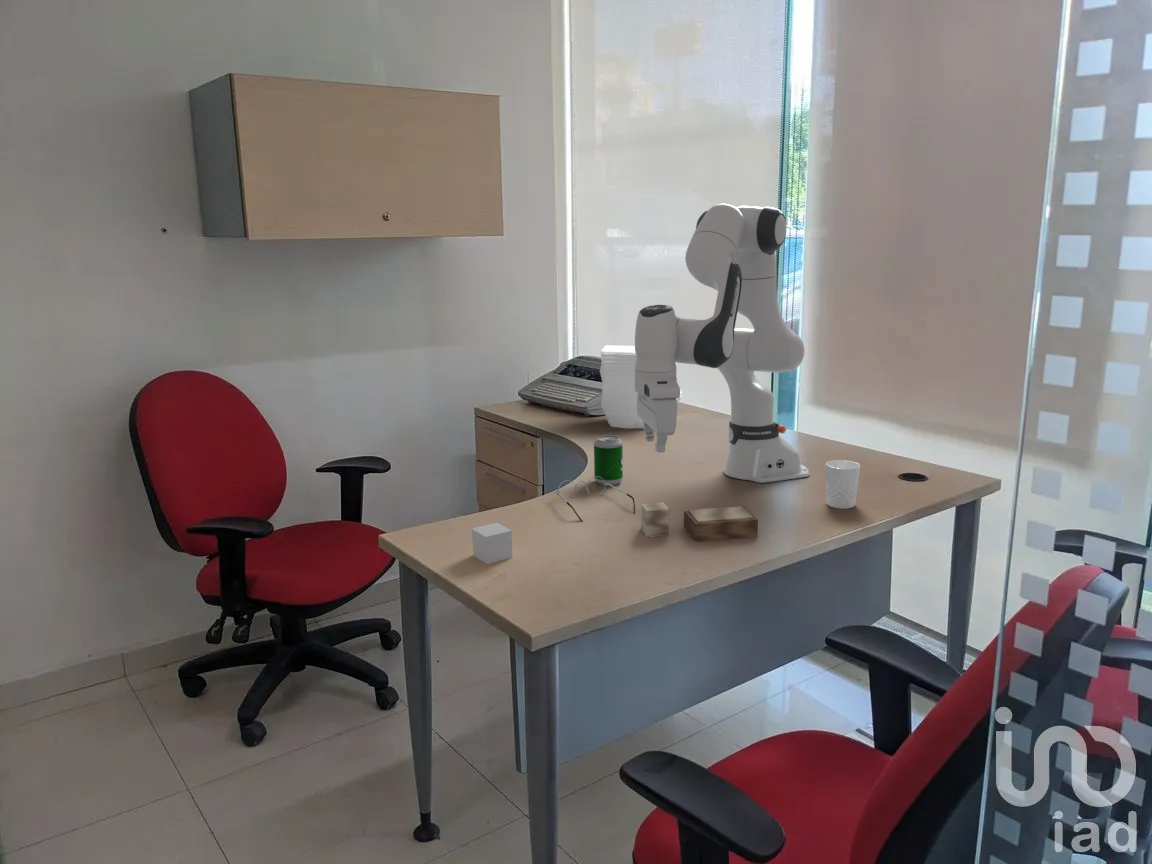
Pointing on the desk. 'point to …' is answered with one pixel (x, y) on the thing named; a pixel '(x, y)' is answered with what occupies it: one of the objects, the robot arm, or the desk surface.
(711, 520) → the plinth
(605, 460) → the soda can
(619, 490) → the eyeglasses
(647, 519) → the block
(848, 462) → the white cup
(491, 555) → the grey cube
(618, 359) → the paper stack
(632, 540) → the desk surface
